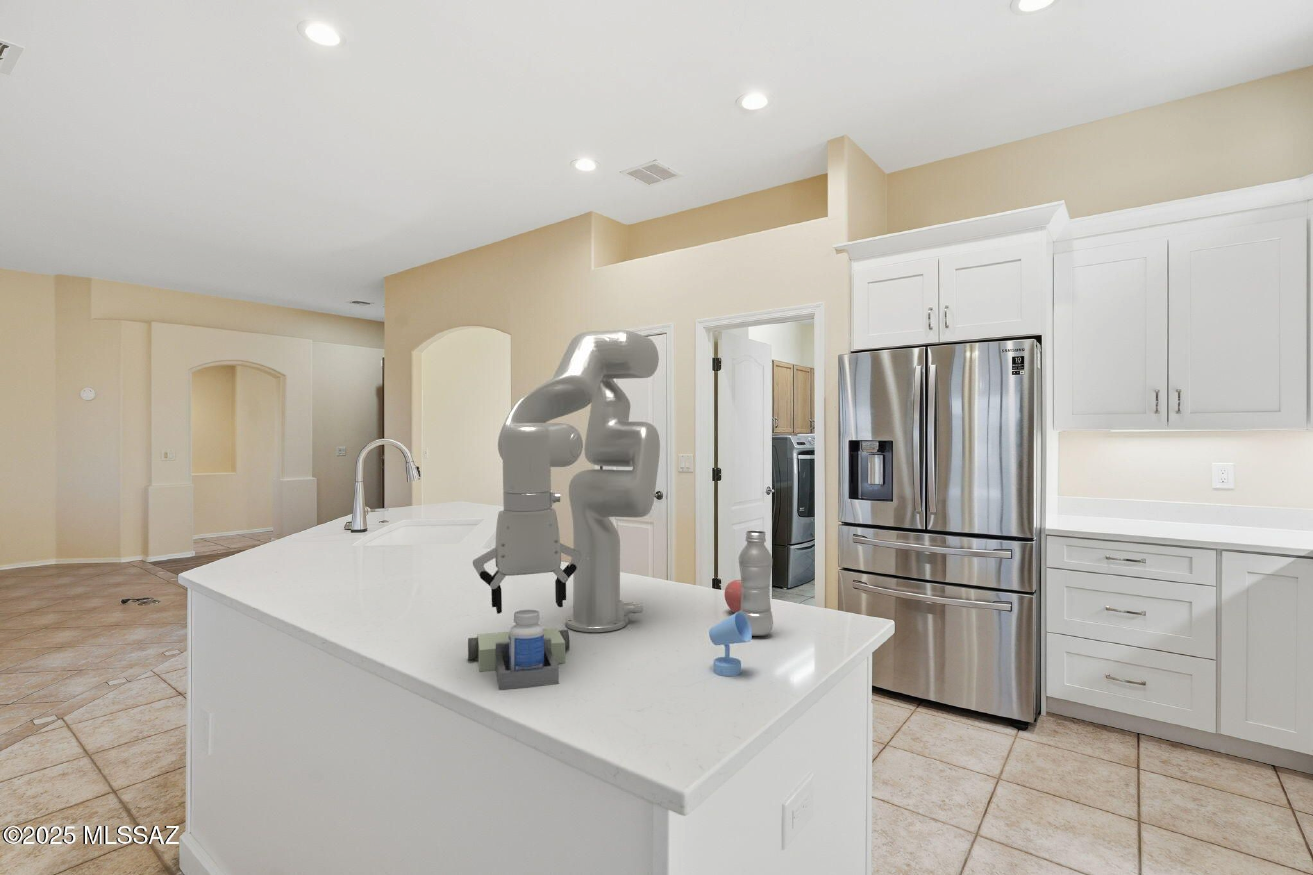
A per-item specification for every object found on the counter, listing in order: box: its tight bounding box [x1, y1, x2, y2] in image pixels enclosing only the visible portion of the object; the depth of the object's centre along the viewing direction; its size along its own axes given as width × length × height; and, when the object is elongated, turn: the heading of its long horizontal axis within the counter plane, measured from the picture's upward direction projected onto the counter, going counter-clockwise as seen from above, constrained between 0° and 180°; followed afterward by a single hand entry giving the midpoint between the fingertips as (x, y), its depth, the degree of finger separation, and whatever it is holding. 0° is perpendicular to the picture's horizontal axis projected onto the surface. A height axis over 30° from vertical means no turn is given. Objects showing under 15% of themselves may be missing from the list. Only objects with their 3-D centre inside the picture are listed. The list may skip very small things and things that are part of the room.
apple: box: [723, 579, 742, 614], centre depth 143 cm, size 7×7×8 cm
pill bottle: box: [509, 609, 545, 670], centre depth 105 cm, size 6×5×10 cm
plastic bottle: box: [738, 530, 774, 637], centre depth 127 cm, size 6×7×20 cm
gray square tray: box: [494, 638, 560, 691], centre depth 105 cm, size 9×9×4 cm
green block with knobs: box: [467, 627, 571, 672], centre depth 113 cm, size 17×9×4 cm, turn 107°
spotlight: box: [708, 612, 753, 677], centre depth 107 cm, size 5×10×7 cm
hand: (529, 608), depth 106 cm, fingers open, 9 cm apart
